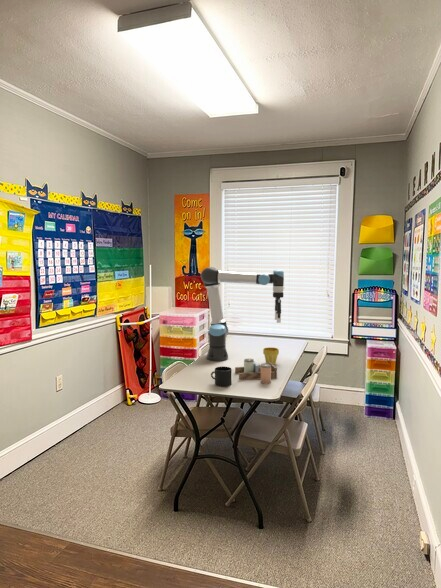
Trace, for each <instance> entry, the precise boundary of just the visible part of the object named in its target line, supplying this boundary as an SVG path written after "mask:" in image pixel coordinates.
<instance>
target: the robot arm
mask: <svg viewBox="0 0 441 588" xmlns="http://www.w3.org/2000/svg"><path fill="white" fill-rule="evenodd" d="M284 275H285V273H284V270H278V269H277V270H275V269H274V270H273V271H272V272H271V273H270V272H258V273H256V272H240V271H239V272H237V271H224V270H223V271H221V270H220V269H217V268H215V267H212V266H209V267H206V268H204V269H202V271H201V272H200V278H201V281H202V282H203V286H204V288H205V289H206V291H207V292H206V293H207V298H208V304H209V310H210V311H209V312H210V316H211V322H210V326H209V327H208V333H209V334H208V339H209V340H208V343H209V347H208V350H207V354H206V360H208V361H212V362H223V361H227V360H228V359H229V354H228V351H227V345H226V344H227V342H226V341H227V337H228V335H229V328H228V326H227V320H226V319H225V318H224V313H223V306H222V300H221V295H220V288H219V287H220V286H221V283H229V284H231V283H232V284H246V285H247V284H248V285H251V284H252V285H261V286H266V285H268V284H272V297H273V298H275V300H274V321H275V320H276V323H277V324H281V323H282V322H281V320H282V319H281V317H282V315H281V314H282V300H281V299H282V298H284V289H285V287H284V285H285V282H284V281H285V276H284Z"/></svg>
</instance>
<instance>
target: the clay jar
mask: <svg viewBox="0 0 441 588" xmlns="http://www.w3.org/2000/svg"><path fill="white" fill-rule="evenodd" d="M260 365H261V379H260V381H259V383H261V384H264V385H265V384H267V385H268V384H271V383H272V378H271V365H269V364H267V363H263V364H260Z"/></svg>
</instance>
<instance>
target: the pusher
mask: <svg viewBox="0 0 441 588" xmlns="http://www.w3.org/2000/svg"><path fill="white" fill-rule="evenodd" d="M261 365H262V364H260V363H257V362H256V361H255V360H254V372H258V368H261Z"/></svg>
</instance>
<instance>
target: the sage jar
mask: <svg viewBox="0 0 441 588" xmlns="http://www.w3.org/2000/svg"><path fill="white" fill-rule="evenodd" d="M254 361H255V360H254V358H244V360H243V367H244V373H254Z"/></svg>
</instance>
